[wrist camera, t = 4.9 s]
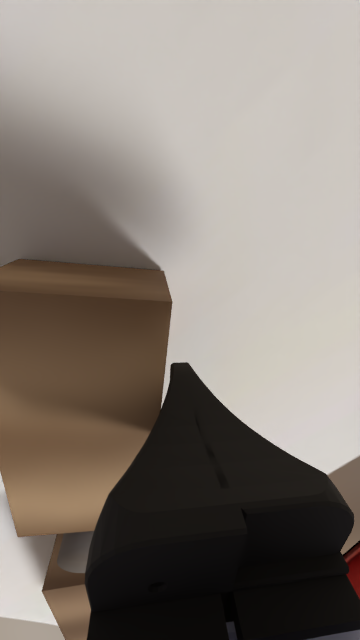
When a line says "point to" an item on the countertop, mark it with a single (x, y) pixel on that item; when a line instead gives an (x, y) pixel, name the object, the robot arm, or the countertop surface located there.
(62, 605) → the oblong wooden brick
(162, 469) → the robot arm
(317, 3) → the countertop surface
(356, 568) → the butter dish
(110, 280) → the swing leaf
